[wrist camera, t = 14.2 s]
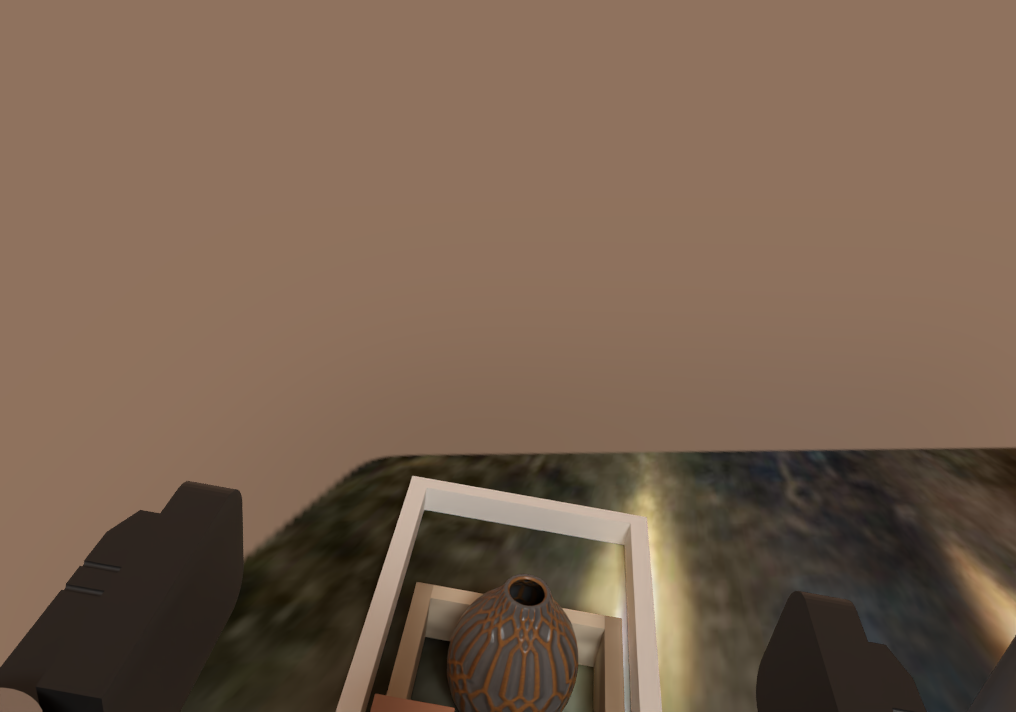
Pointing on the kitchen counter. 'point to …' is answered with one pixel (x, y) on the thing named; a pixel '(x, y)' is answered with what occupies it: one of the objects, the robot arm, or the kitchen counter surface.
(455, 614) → the square wooden tray
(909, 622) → the kitchen counter surface
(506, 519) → the rail lane
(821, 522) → the kitchen counter surface
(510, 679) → the vase
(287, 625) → the kitchen counter surface
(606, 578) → the kitchen counter surface
